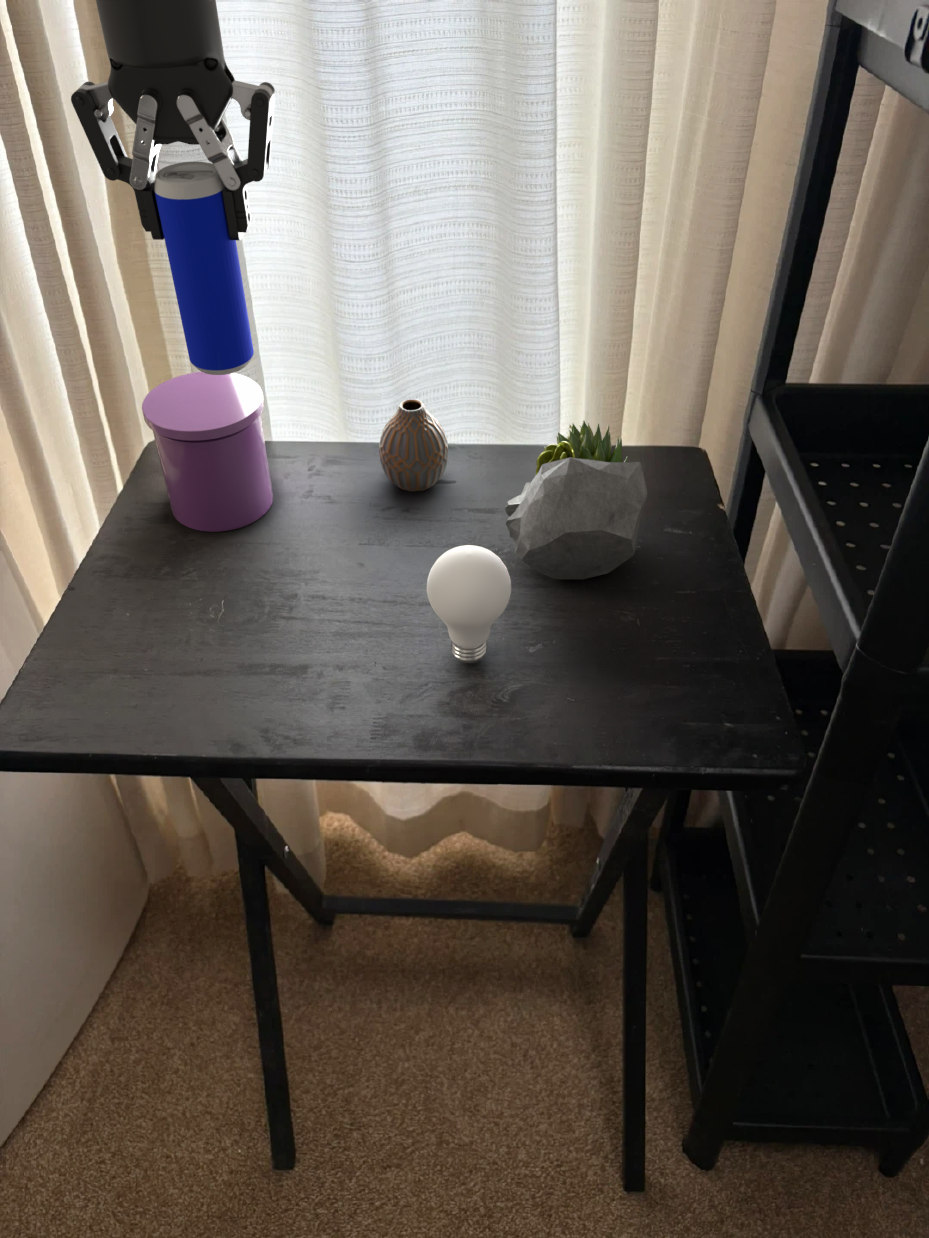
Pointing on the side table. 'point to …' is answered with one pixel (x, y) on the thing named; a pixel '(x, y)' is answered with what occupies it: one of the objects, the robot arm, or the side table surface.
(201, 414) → the jar
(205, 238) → the beverage can
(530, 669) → the side table surface
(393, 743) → the side table surface
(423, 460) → the vase
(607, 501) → the potted plant
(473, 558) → the light bulb
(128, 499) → the side table surface
